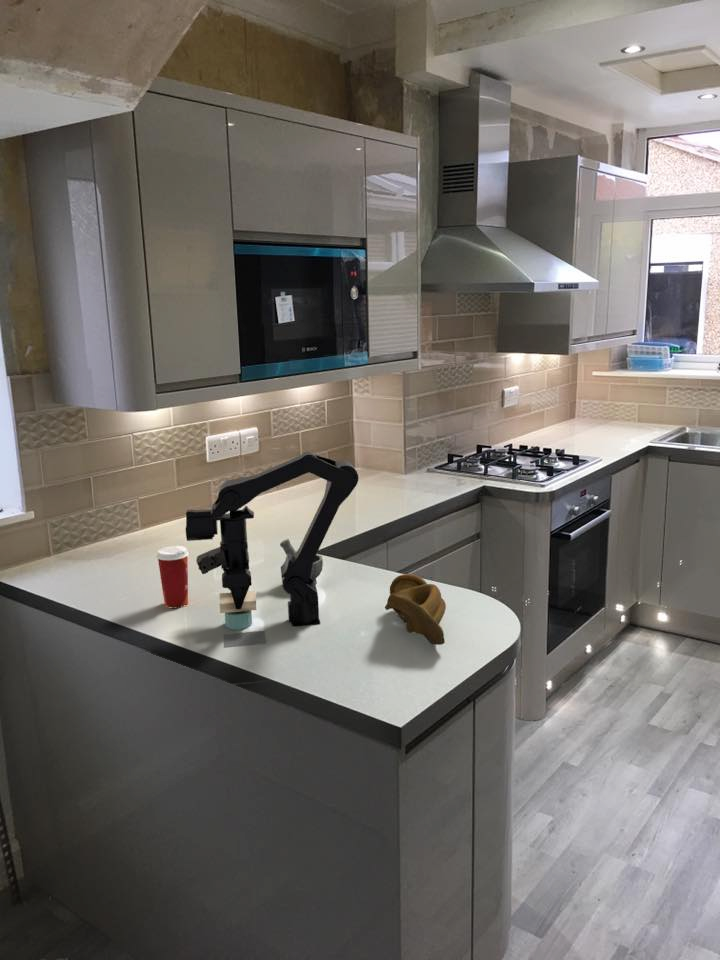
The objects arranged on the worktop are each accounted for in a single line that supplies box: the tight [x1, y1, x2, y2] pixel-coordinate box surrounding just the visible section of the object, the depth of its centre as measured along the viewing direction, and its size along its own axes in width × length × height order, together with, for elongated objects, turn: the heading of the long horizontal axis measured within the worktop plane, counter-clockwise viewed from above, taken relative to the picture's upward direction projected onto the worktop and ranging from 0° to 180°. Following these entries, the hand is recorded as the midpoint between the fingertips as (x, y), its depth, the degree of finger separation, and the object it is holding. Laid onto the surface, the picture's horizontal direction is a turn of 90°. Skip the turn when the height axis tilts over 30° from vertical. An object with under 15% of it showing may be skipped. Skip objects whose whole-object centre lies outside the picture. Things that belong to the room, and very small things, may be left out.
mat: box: [223, 630, 267, 649], centre depth 171 cm, size 9×7×1 cm
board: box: [219, 590, 257, 614], centre depth 177 cm, size 8×6×2 cm
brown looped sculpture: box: [384, 573, 447, 646], centre depth 173 cm, size 18×13×22 cm
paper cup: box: [155, 545, 190, 608], centre depth 192 cm, size 8×8×14 cm
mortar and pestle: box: [279, 538, 324, 584], centre depth 204 cm, size 11×9×12 cm
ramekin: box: [224, 610, 253, 631], centre depth 179 cm, size 6×6×4 cm
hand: (238, 603), depth 177 cm, fingers closed on board, 6 cm apart
